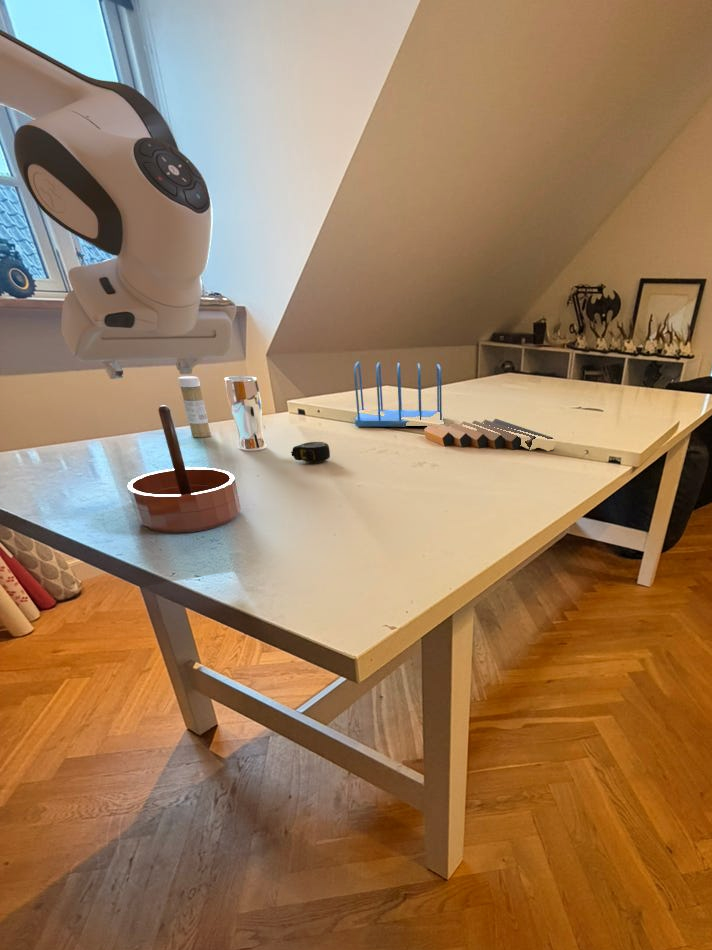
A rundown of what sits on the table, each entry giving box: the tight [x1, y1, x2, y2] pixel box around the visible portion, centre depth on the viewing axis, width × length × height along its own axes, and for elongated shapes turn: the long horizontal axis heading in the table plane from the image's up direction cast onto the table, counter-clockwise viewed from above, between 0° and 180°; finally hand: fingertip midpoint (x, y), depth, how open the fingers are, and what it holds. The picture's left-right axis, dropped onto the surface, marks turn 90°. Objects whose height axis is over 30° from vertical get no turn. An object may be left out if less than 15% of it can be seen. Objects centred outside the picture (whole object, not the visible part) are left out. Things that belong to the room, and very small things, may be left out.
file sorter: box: [353, 361, 443, 428], centre depth 155 cm, size 25×17×15 cm
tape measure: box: [290, 441, 331, 463], centre depth 119 cm, size 7×7×4 cm
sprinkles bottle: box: [177, 375, 212, 438], centre depth 132 cm, size 5×5×13 cm
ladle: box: [157, 405, 191, 495], centre depth 84 cm, size 5×5×16 cm
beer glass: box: [224, 375, 268, 452], centre depth 124 cm, size 7×7×15 cm
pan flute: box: [423, 418, 554, 451], centre depth 140 cm, size 25×3×25 cm
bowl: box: [127, 467, 242, 534], centre depth 87 cm, size 15×15×6 cm
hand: (150, 372), depth 78 cm, fingers open, 8 cm apart
